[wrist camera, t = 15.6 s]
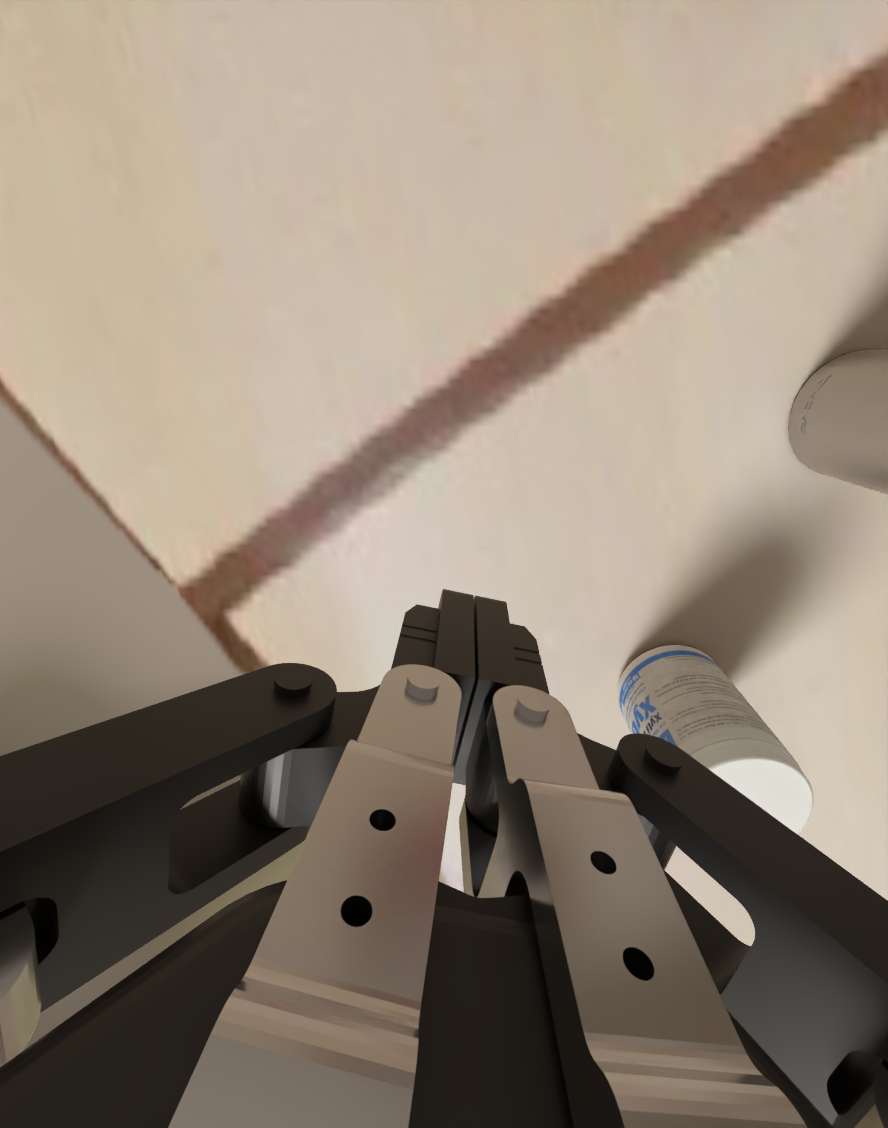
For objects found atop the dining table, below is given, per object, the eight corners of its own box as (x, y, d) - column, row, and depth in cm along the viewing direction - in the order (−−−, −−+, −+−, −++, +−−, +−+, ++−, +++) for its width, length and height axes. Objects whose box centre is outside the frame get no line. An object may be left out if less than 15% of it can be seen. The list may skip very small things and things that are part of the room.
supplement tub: (602, 659, 49) (655, 775, 35) (707, 626, 47) (805, 735, 33) (629, 740, 52) (688, 877, 38) (729, 712, 50) (827, 844, 37)
